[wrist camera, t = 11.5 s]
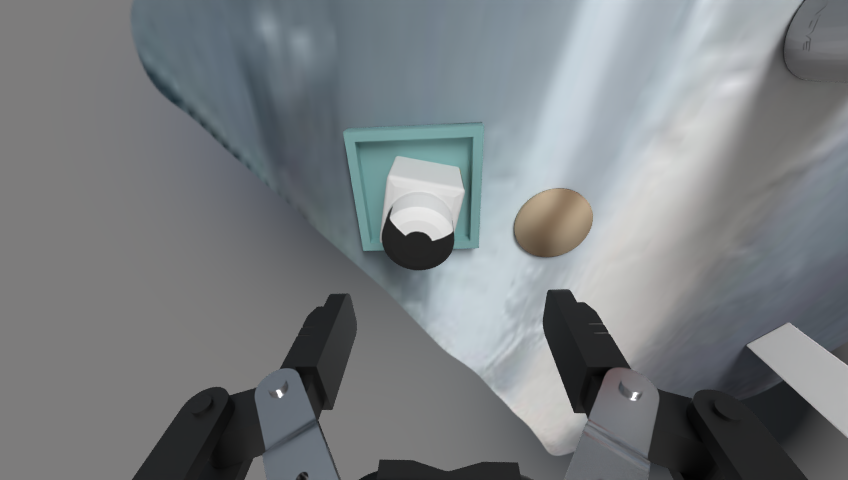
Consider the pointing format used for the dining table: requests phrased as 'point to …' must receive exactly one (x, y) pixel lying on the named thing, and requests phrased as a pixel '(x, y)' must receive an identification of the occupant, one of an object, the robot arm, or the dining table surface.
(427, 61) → the dining table surface
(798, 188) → the dining table surface
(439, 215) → the medicine bottle
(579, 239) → the cork coaster
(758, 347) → the milk
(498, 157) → the dining table surface
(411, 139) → the tray
